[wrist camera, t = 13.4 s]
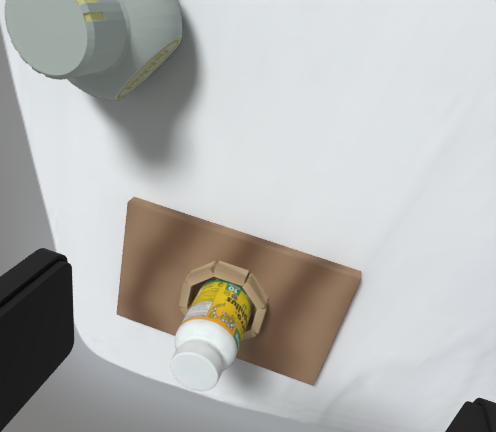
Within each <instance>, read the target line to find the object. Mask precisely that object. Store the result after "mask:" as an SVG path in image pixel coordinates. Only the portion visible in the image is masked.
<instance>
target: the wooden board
mask: <svg viewBox="0 0 496 432" xmlns="http://www.w3.org/2000/svg"><path fill="white" fill-rule="evenodd" d="M215 277H216V278H219V279H222V280H225V281H228V282H231V283H234V284H237V285H240V286H242V287H243V289H244V290H245V292H246V293H247V295H248V296H249V298H250V299H251V301H252V302H253V309H252V312H251V315H250V318H249V321H248V324H247V327H246V329H245V332H244V335H243V338H242V341H241V343H240V346H239V349H238V352H237V356H236V358H239V359H241V360H244V361H247V362H250V363H252V364H255V365H258V366H261V367H263V368H266V369H269V370H272V371H274V372H277V373H280V374H283V375H286V376H288V377H291V378H294V379H297V380H299V381H302V382H305V383H308V384H310V385H314V383H315V381H316V378H317V376H318V374H319V372H320V369H321V367H322V365H323V363H324V360H325V358H326V356H327V354H328V352H329V349H330V347H331V345H332V343H333V340H334V338H335V336H336V334H337V331H338V329H339V327H340V325H341V323H342V320H343V318H344V316H345V314H346V311H347V309H348V307H349V305H350V302H351V300H352V298H353V296H354V294H355V291H356V289H357V287H358V285H359V282H360V280H361V271H358V270H355V269H352V268H349V267H346V266H343V265H340V264H337V263H334V262H331V261H328V260H325V259H322V258H318V257H315V256H312V255H309V254H306V253H303V252H300V251H297V250H294V249H291V248H288V247H285V246H282V245H279V244H276V243H273V242H270V241H267V240H264V239H261V238H258V237H255V236H252V235H248V234H245V233H242V232H239V231H236V230H233V229H230V228H227V227H224V226H221V225H218V224H215V223H212V222H209V221H206V220H203V219H200V218H197V217H194V216H191V215H188V214H185V213H181V212H178V211H175V210H172V209H169V208H166V207H163V206H160V205H157V204H154V203H151V202H148V201H145V200H142V199H139V198H136V197H133V198H132V199H131V200H130V201H128V205H127V215H126V225H125V235H124V245H123V255H122V265H121V275H120V286H119V296H118V306H117V315H120V316H122V317H125V318H128V319H131V320H133V321H136V322H139V323H142V324H144V325H147V326H150V327H153V328H156V329H158V330H161V331H164V332H167V333H169V334H172V335H175V336H176V333H177V330H178V328H179V327H180V325H181V323H182V321H183V319H184V317H185V316H186V314H187V312H188V310H189V309H190V307H191V305H192V303H193V301H194V300H195V298H196V296H197V294H198V292H199V291H200V289H201V287H202V286H203V285H204V283H205V282H207V281H208V280H210V279H212V278H215Z"/></svg>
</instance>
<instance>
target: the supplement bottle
mask: <svg viewBox="0 0 496 432" xmlns="http://www.w3.org/2000/svg"><path fill="white" fill-rule="evenodd" d="M252 309H253V302H252V301H251V299H250V298H249V296H248V295H247V293H246V292H245V290H244V289H243V287H242V286H240V285H237V284H234V283H231V282H228V281H225V280H222V279H219V278H216V277H215V278H212V279H210V280H208V281H207V282H205V283H204V285H203V286H202V287H201V289H200V291H199V292H198V294H197V296H196V298H195V300H194V301H193V303H192V305H191V307H190V309H189V310H188V312H187V314H186V316H185V317H184V319H183V321H182V323H181V325H180V327H179V328H178V330H177V333H176V336H175V348H176V351H175V354H174V356H173V358H172V360H171V363H170V369H171V372H172V375H173V376H174V378H175V379H176V380H177V381H178V382H179V383H180V384H182V385H183V386H185V387H187V388H189V389H192V390H197V391H206V390H209V389H211V388H213V387H214V386H215V385H216V384H217V382H218V380H219V378H220V375H221V373H222V371H224V370H225V369H227V368H228V367H229V366H230V365H231V364H232V363H233V362H234V360H235V358H236V356H237V352H238V349H239V346H240V343H241V341H242V338H243V335H244V332H245V329H246V327H247V324H248V321H249V318H250V315H251V312H252Z"/></svg>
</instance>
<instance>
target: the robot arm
mask: <svg viewBox="0 0 496 432" xmlns="http://www.w3.org/2000/svg"><path fill="white" fill-rule="evenodd" d="M73 344H74V318H73V288H72V266H71V264H69V263H68V261H67V258H66V256H65V255H62V254H59V253H56V252H53V251H50V250H48V249H45V248H41V249H38V250H37V251H35V252H34V253H33V254H31V255H30V256H28V257H27V258H25V259H24V260H23V261H21V262H20V263H19V264H17V265H16V266H14V267H13V268H12V269H10V270H9V271H8V272H6V273H5V274H3V275H2V276H1V277H0V432H1V431H2V430H3V428H4V427H5V426H6V425H7V424H8V423H9V422H10V421H11V420H12V418H13V417H14V416H15V415H16V414H17V413H18V412H19V410H20V409H21V408H22V407H23V406H24V405H25V404H26V402H27V401H28V400H29V399H30V398H31V397H32V396H33V395H34V393H35V392H36V391H37V390H38V389H39V388H40V387H41V385H42V384H43V383H44V382H45V381H46V380H47V379H48V378H49V376H50V375H51V374H52V373H53V372H54V371H55V370H56V369H57V367H58V366H59V365H60V364H61V363H62V362H63V361H64V359H65V358H66V357H67V356H68V355H69V353H70V352H71V350H72V347H73ZM445 432H496V403H494V402H491V401H488V400H485V399H482V398H477V399H476V400H475V401H474V402H473V403H472V402H469V401H467V402H465V403H464V405H463V406H462V408H461V409H460V411H459V412H458V414H457V415H456V416H455V418H454V419H453V421H452V422H451V424H450V425H449V427H448V428H447V430H446V431H445Z"/></svg>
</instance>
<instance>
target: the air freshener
mask: <svg viewBox="0 0 496 432" xmlns="http://www.w3.org/2000/svg"><path fill="white" fill-rule="evenodd" d="M5 21H6V27H7V30H8V33H9V36H10V38H11V42H12V44H13V45H14V47H15V49H16V50H17V51H18V53H19V54H20V56H21V58H22V59H23V60H24V61H25V62H26V64H27V63H28V64H29V65H30V66H31V67H32V69H33V70H35V71H36V72H38V73H39V74H40V73H42V74H44V75H45V76H46V77H49V78H52V79H68V80H69V81H70V82H71V83H72V84H73V85H75V86H76V87H78V88H79V89H81V90H82V91H84V92H86V93H88V94H90V95H92V96H95V97H98V98H102V99H105V100H112V101H117V100H120V99H121V98H123V97H125V96H126V95H128V94H129V93H130V92H132V91H133V90H134V89H135V88H137V87H138V86H139V85H140V84H142V83H143V82H144V81H145V80H146V79H147V78H148V77H149V76H151V75H152V74H153V73H154V72H155V71H156V70H157V69H158V68H159V67H160V66H161V65H162V64H163V63H164V62H165V61H166V60H167V59H168V58H169V56H170V55H171V54H172V53H173V52H174V51H175V49H176V48H177V47H178V45H179V44H180V42H181V40H182V17H181V11H180V6H179V2H178V0H6V3H5Z"/></svg>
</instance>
